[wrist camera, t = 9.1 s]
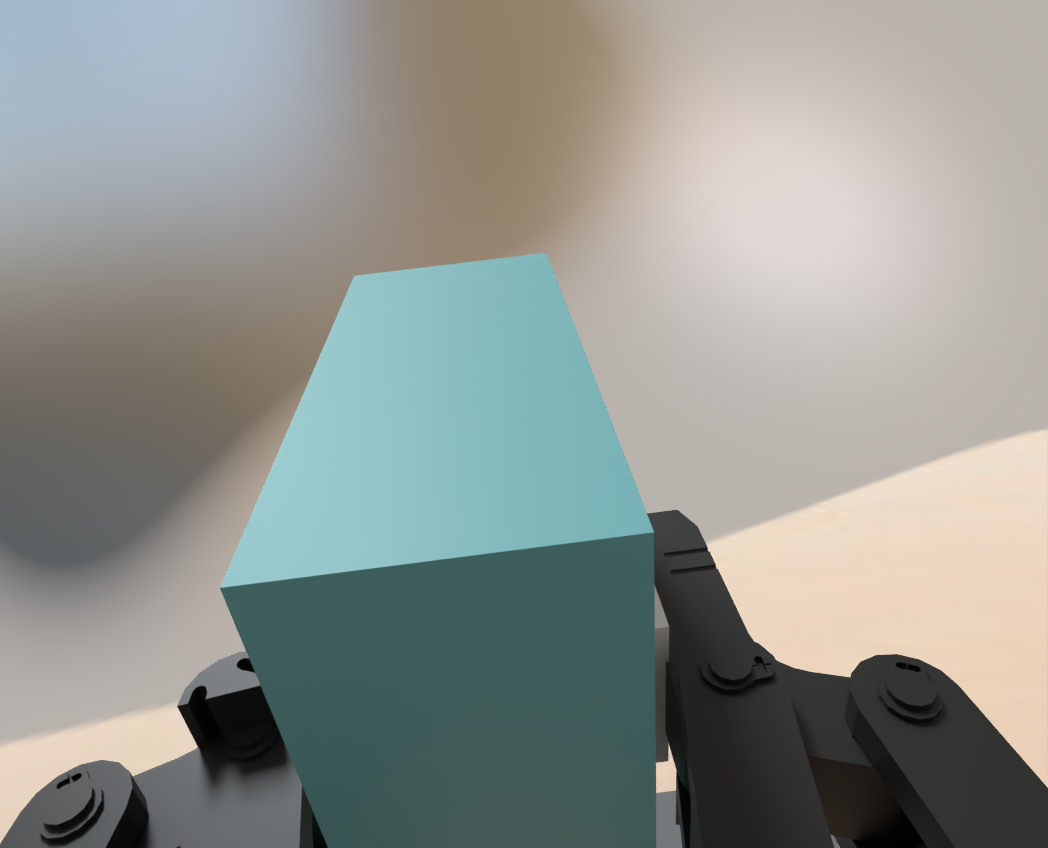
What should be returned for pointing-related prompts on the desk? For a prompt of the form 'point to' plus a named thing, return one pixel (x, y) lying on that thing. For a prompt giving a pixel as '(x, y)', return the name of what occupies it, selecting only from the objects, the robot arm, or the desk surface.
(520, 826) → the tall teal rectangular block
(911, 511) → the desk surface
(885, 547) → the desk surface
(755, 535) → the desk surface
